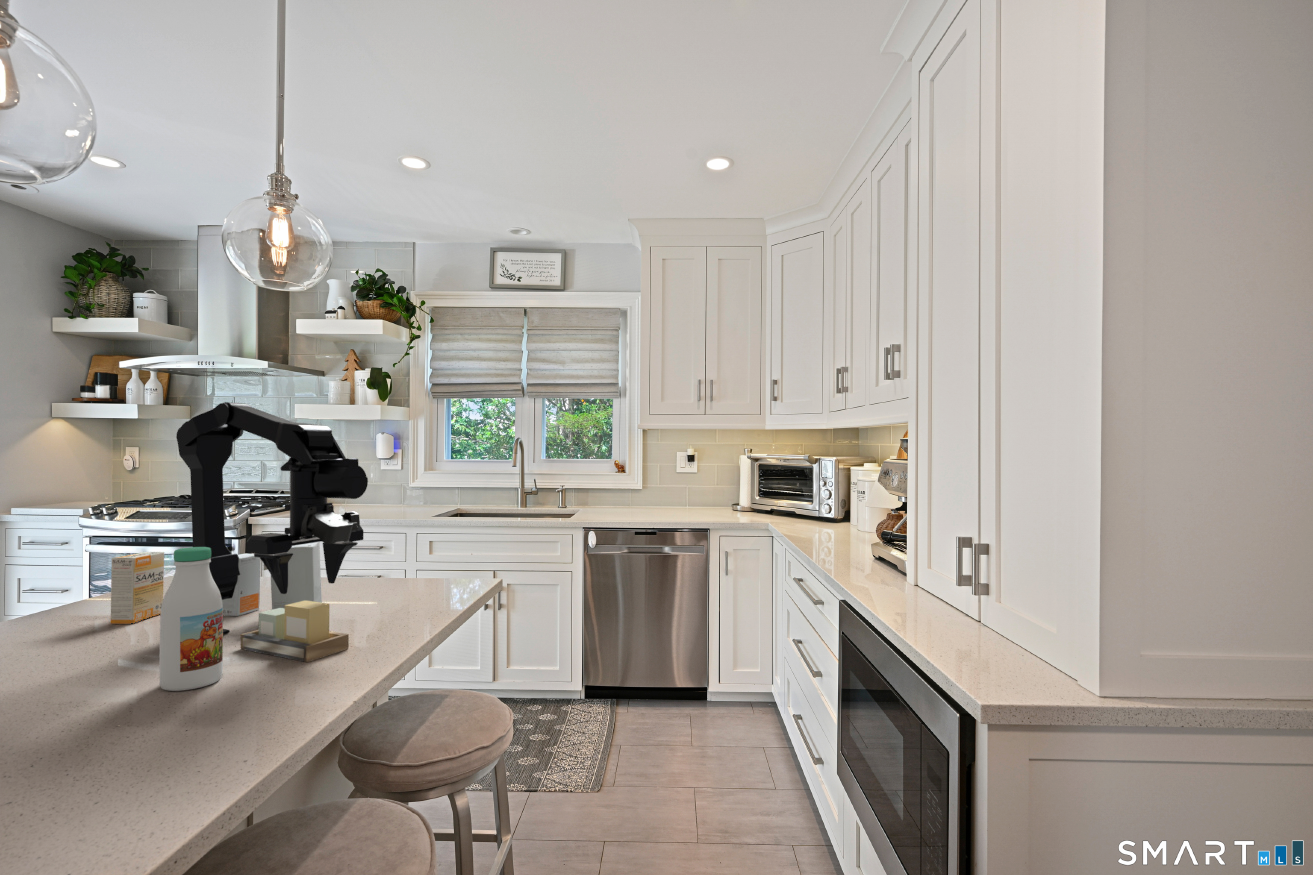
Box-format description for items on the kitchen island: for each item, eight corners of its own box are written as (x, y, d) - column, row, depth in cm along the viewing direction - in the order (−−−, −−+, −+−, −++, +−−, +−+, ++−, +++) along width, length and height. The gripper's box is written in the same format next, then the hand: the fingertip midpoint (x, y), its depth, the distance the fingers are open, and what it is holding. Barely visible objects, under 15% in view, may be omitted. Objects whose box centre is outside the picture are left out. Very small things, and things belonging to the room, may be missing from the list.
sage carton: (258, 647, 117) (258, 612, 117) (279, 640, 121) (280, 607, 121) (274, 650, 115) (275, 615, 115) (296, 644, 119) (296, 610, 119)
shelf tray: (239, 648, 116) (239, 634, 116) (283, 636, 123) (283, 623, 123) (306, 662, 109) (306, 647, 109) (348, 648, 116) (348, 634, 116)
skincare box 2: (322, 611, 142) (322, 541, 142) (314, 618, 136) (314, 545, 136) (278, 613, 140) (279, 542, 140) (268, 621, 134) (269, 546, 134)
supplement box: (133, 624, 131) (134, 557, 131) (109, 624, 131) (110, 557, 131) (165, 613, 140) (165, 551, 140) (142, 613, 140) (142, 550, 140)
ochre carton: (308, 656, 112) (308, 609, 112) (283, 652, 114) (284, 605, 114) (329, 649, 116) (329, 603, 116) (305, 645, 118) (305, 600, 118)
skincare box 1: (237, 616, 137) (238, 558, 137) (220, 615, 138) (220, 557, 138) (261, 609, 143) (261, 553, 143) (243, 608, 144) (244, 552, 144)
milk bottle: (154, 696, 94) (155, 554, 94) (164, 678, 101) (165, 546, 101) (219, 686, 98) (220, 550, 98) (225, 670, 105) (226, 543, 105)
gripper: (291, 503, 103) (290, 604, 103) (385, 495, 120) (385, 582, 120) (244, 501, 108) (243, 598, 108) (341, 493, 125) (341, 577, 125)
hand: (308, 588), depth 115 cm, fingers open, 9 cm apart
